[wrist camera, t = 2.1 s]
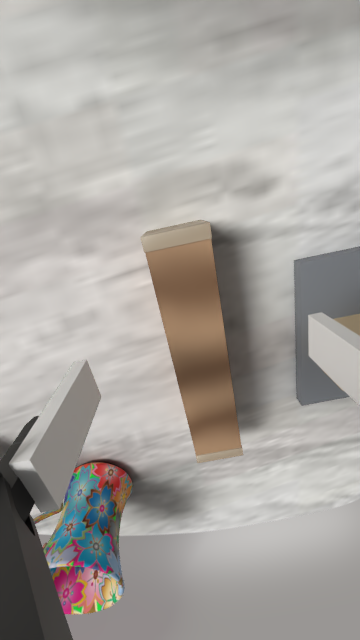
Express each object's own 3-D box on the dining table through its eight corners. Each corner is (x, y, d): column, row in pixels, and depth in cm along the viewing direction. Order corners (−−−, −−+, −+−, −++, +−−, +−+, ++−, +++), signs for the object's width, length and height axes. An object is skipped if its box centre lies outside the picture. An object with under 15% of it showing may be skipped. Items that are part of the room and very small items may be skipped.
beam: (146, 231, 21) (140, 237, 16) (200, 219, 21) (209, 222, 16) (193, 423, 30) (197, 463, 25) (231, 416, 30) (243, 455, 25)
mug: (142, 459, 32) (131, 568, 22) (130, 504, 35) (116, 616, 26) (43, 447, 30) (-16, 559, 21) (41, 496, 34) (-10, 611, 24)
